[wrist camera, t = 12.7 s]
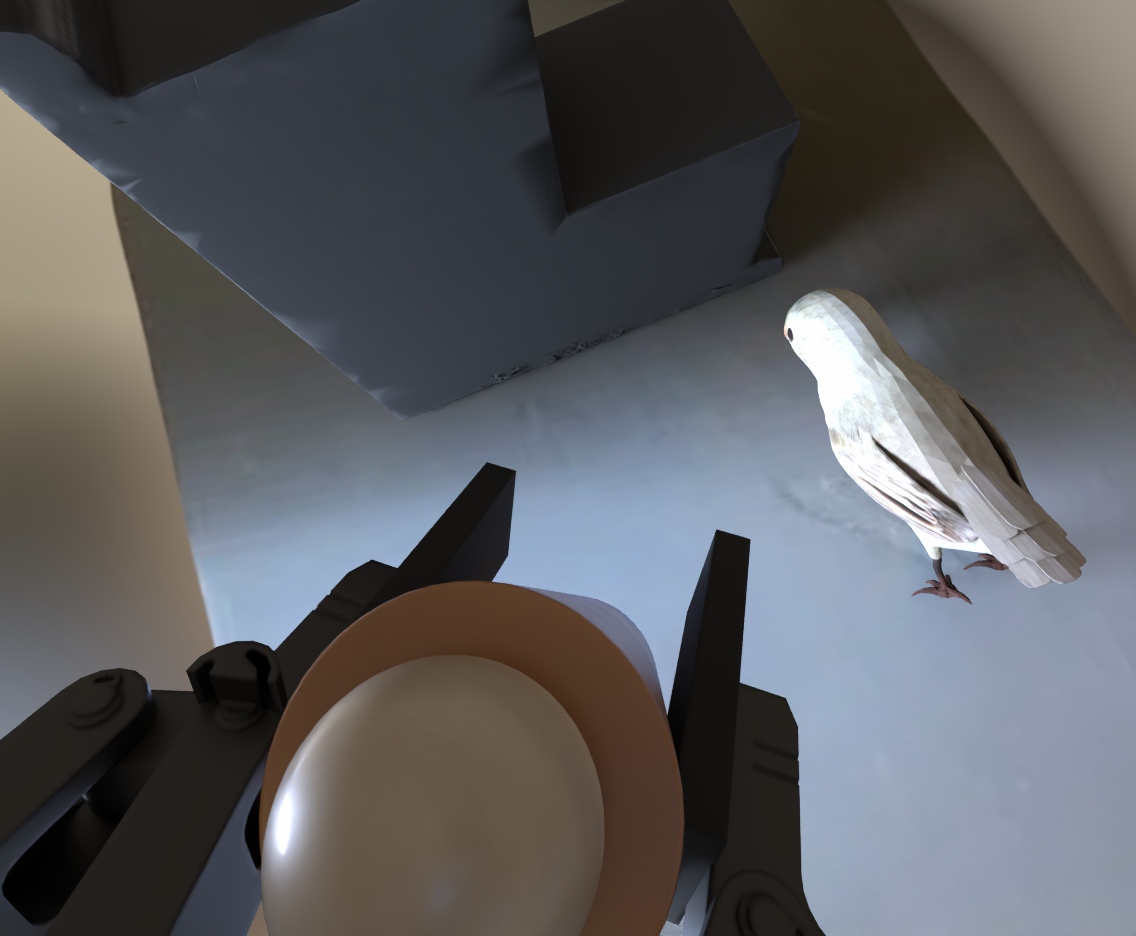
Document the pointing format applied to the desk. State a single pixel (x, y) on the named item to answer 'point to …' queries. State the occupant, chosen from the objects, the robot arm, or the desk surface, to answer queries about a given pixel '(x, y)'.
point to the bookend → (427, 164)
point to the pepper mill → (474, 774)
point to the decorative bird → (923, 446)
